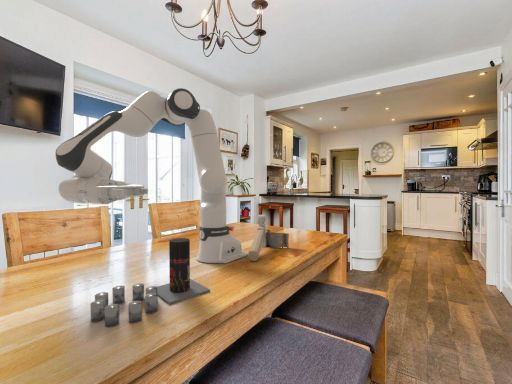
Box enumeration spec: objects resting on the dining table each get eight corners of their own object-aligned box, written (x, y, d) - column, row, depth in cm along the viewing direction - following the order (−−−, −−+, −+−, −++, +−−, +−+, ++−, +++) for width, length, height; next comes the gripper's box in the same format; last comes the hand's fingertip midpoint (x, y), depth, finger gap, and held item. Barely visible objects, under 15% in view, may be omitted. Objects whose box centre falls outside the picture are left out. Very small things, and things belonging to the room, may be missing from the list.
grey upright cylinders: (146, 292, 80) (145, 279, 80) (169, 311, 69) (169, 295, 68) (83, 309, 69) (83, 294, 69) (99, 335, 58) (99, 317, 58)
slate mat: (188, 279, 91) (188, 278, 91) (210, 291, 81) (210, 289, 81) (150, 290, 82) (150, 288, 82) (169, 304, 72) (169, 302, 72)
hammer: (258, 239, 109) (266, 214, 137) (247, 239, 109) (257, 214, 138) (259, 273, 113) (266, 242, 141) (248, 273, 114) (258, 242, 142)
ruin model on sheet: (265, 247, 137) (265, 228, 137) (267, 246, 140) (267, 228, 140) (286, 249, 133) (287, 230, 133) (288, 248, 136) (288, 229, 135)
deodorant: (189, 292, 79) (189, 241, 78) (168, 293, 78) (168, 242, 77) (190, 284, 85) (190, 237, 84) (170, 285, 84) (170, 238, 83)
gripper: (72, 181, 79) (109, 181, 75) (125, 181, 99) (156, 181, 95) (73, 202, 80) (110, 204, 76) (125, 198, 99) (156, 199, 95)
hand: (136, 191), depth 85 cm, fingers open, 8 cm apart
